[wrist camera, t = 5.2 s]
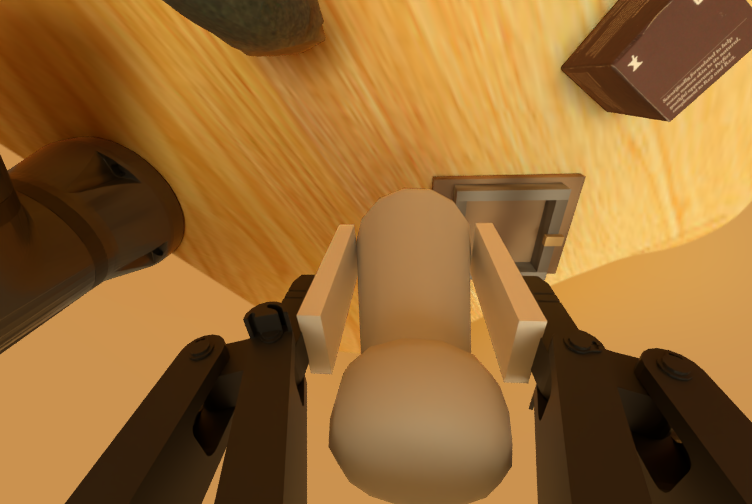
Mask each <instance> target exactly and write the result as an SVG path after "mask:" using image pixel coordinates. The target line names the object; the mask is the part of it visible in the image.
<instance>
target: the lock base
mask: <svg viewBox="0 0 752 504" xmlns="http://www.w3.org/2000/svg"><path fill="white" fill-rule="evenodd" d="M584 180H585V176H584V175H582V174H540V175H493V176H446V177H433V188H432V190H433V191H435V192H437V193H439V194H441V195H443V196H445V197H446V198H448V199H450V200H452V201H453V202H454V203H455V204H456V206H457V207H458V209H459V210H460V212H461V213H462V214H463V216H464V217H465V219H466V220H467V222H468V223H469V226H470V241H471V257H472V249H473V241H474V233H475V225H476V223H493V225H494V227H495V229H496V231H497V232H498V234H499V236H500V238H501V239H502V241H503V243H504V245H505V247H506V248H507V250H508V252H509V254H510V256H511V257H512V259H513V261H514V263H515V265H516V266H517V268H518V270H519V272H520V274H521V275H522V276H538V277H540V278H541V279H542V280H545V278H546V274H547V273H550V274H555V273H556V270H557V267H558V263H559V260H560V257H561V254H562V251H563V247H564V244H565V241H566V238H567V235H568V231H569V228H570V225H571V222H572V219H573V215H574V212H575V209H576V206H577V203H578V199H579V196H580V193H581V190H582V187H583V183H584ZM470 265H471V262H470ZM470 279H472V276H471V273H470Z"/></svg>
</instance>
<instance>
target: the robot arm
mask: <svg viewBox="0 0 752 504" xmlns="http://www.w3.org/2000/svg"><path fill="white" fill-rule="evenodd" d="M183 233H184V220H183V215H182V211H181V208H180V205H179V203H178V201H177V198H176V197H175V195H174V193H173V191H172V190H171V188H170V187H169V185H168V184H167V183H166V181H165V180H164V179H163V178H162V176H161V175H160V174H159V173H158V172H157V171H156V170H155V169H154V168H153V167H152V166H151V165H150V164H149V163H147V162H146V161H145V160H144V159H142V158H141V157H140V156H138V155H137V154H135V153H134V152H132V151H130V150H129V149H127V148H125V147H123V146H121V145H119V144H117V143H114V142H111V141H108V140H105V139H101V138H96V137H77V138H71V139H66V140H61V141H56V142H53V143H50V144H48V145H46V146H44V147H42V148H41V149H39V150H38V151H36V152H35V153H33V154H32V155H30V156H29V157H27V158H26V159H24V160H23V161H21V162H20V163H18V164H17V165H15V166H14V167H12V168H11V169H9V170H8V171H7V169H6V167H5V164H4V162H3V160H2V157H1V155H0V354H1V353H3V352H4V351H5V350H7V349H8V348H10V347H11V346H12V345H14V344H15V343H17V342H18V341H20V340H21V339H22V338H24V337H25V336H27V335H28V334H29V333H31V332H32V331H34V330H35V329H36V328H38V327H39V326H40V325H42V324H43V323H45V322H46V321H48V320H49V319H50V318H52V317H53V316H55V315H56V314H58V313H59V312H60V311H62V310H63V309H65V308H66V307H67V306H69V305H70V304H71V303H73V302H74V301H76V300H77V299H79V298H80V297H81V296H83V295H84V294H86V293H87V292H88V291H90V290H91V289H93V288H94V287H96V286H97V285H99V284H100V283H102V282H103V281H106V280H109V279H112V278H115V277H118V276H122V275H125V274H128V273H131V272H134V271H138V270H141V269H144V268H147V267H150V266H153V265H155V264H157V263H159V262H160V261H162V260H163V259H164V258H165V257H167V256H168V255H169V254H171V253H172V252H174V251H175V250H176V249H177V247H178V246H179V244H180V242H181V240H182V237H183ZM470 273H471V276H472V280H473V283H474V286H475V289H476V293H477V296H478V299H479V302H480V306H481V309H482V312H483V315H484V319H485V322H486V325H487V328H488V331H489V335H490V338H491V341H492V345H493V348H494V351H495V354H496V358H497V361H498V364H499V368H500V371H501V374H502V377H503V381H504V382H511V383H528V381H529V378H530V375H531V372H532V374H533V376H534V379H535V381H536V383H537V384H536V387H535V390H534V393H533V397H532V399H531V402H530V406H529V409H531V410H533V407H534V411H535V412H534V414H535V440H536V466H537V491H538V504H752V422H751V421H750V420H749V419H748V418H747V417H746V416H745V415H744V414H743V412H742V411H741V410H740V409H739V408H738V407H737V406H736V405H735V404H734V403H733V402H732V401H731V400H730V399H729V397H728V396H727V395H726V394H725V393H724V392H723V391H722V390H721V389H720V388H719V387H718V386H717V384H716V383H715V382H714V381H713V380H712V379H711V378H710V377H709V376H708V375H707V374H706V372H705V371H704V370H703V369H701V368H700V367H699V366H698V365H696V364H695V363H694V362H693V361H691V360H689V359H687V358H686V357H684V356H682V355H680V354H677V353H675V352H672V351H669V350H664V349H659V348H655V349H648V350H646V351H644V352H643V353H642V354H641V356H640V358H636V357H632V356H628V355H624V354H619V353H615V352H612V351H609V350H606V349H605V348H604V346H603V344H602V343H601V342H600V341H598V340H597V339H596V338H595V337H593V336H592V335H590V334H588V333H587V332H584V331H581V330H579V329H578V328H577V326H576V325H575V323H574V322H573V320H572V319H571V317H570V316H569V314H568V313H567V311H566V310H565V308H564V307H563V305H562V304H561V303H560V301H559V299H558V298H557V296H556V295H555V293H554V292H553V290H552V289H551V287H550V286H549V284H548V283H546V282H545V281H544V280H542V279H541V278H540V277H538V276H522V275H521V274H520V272H519V270H518V268H517V266H516V265H515V263H514V261H513V259H512V257H511V256H510V254H509V252H508V250H507V248H506V247H505V245H504V243H503V241H502V239H501V238H500V236H499V234H498V232H497V231H496V229H495V227H494V225H493V223H476V225H475V233H474V241H473V249H472V257H471V265H470ZM357 276H358V271H357V249H356V237H355V228H354V224H349V225H339V226H338V228H337V230H336V232H335V235H334V237H333V239H332V241H331V243H330V245H329V247H328V250H327V252H326V254H325V256H324V258H323V260H322V262H321V264H320V267H319V269H318V271H317V273H316V275H301V276H300V277H299V278H297V279H296V280H295V281H294V282H293V283H292V285H291V287H290V288H289V291H288V292H287V294H286V295H285V299H283V301H282V303H279V302H266V303H262V304H259V305H257V306H255V307H254V308H252V309H251V310H250V311H249V312H247V313H246V315H245V317H244V319H243V320H244V323H245V326H246V328H247V331H248V333H249V336H250V339H246V340H243V341H238V342H234V343H229V344H226V343H225V341H224V339H223V338H222V337H220V336H218V335H207V336H203V337H200V338H198V339H195V340H194V341H192V342H191V343H189V344H187V346H185V347H184V348H183V349H182V351H181V352H180V353H179V354H178V356H177V357H176V358H175V360H174V361H173V362H172V364H171V365H170V366H169V367H168V369H167V370H166V371H165V373H164V374H163V375H162V377H161V378H160V379H159V381H158V382H157V383H156V385H155V386H154V387H153V388H152V390H151V391H150V392H149V394H148V395H147V396H146V398H145V399H144V400H143V402H142V403H141V404H140V406H139V407H138V408H137V409H136V411H135V412H134V414H133V415H132V416H131V417H130V419H129V420H128V421H127V423H126V424H125V425H124V427H123V428H122V429H121V431H120V432H119V433H118V434H117V436H116V437H115V439H114V440H113V441H112V442H111V444H110V445H109V446H108V448H107V449H106V450H105V452H104V453H103V454H102V455H101V457H100V458H99V459H98V461H97V462H96V464H95V465H94V466H93V467H92V469H91V470H90V471H89V473H88V474H87V475H86V476H85V478H84V479H83V480H82V482H81V483H80V484H79V486H78V487H77V488H76V490H75V491H74V492H73V494H72V495H71V496H70V498H69V499H68V500H67V502H66V503H65V504H202V501H203V499H204V497H205V494H206V492H207V490H208V488H209V485H210V483H211V481H212V479H213V477H214V474H215V472H216V469H217V467H218V465H219V463H220V461H221V458H222V456H223V454H224V452H225V449H226V453H225V457H224V462H223V466H222V471H221V475H220V480H219V484H218V489H217V494H216V499H215V503H214V504H307V382H306V378H305V372H306V369H307V366H308V364H309V366H310V370H311V373H319V374H332V372H333V368H334V364H335V360H336V357H337V353H338V349H339V345H340V341H341V337H342V334H343V330H344V326H345V322H346V318H347V314H348V310H349V306H350V303H351V299H352V295H353V291H354V287H355V283H356V279H357ZM226 447H227V448H226Z"/></svg>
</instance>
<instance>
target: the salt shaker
mask: <svg viewBox="0 0 752 504" xmlns="http://www.w3.org/2000/svg"><path fill="white" fill-rule="evenodd" d="M356 249H357V271H358V294H359V317H360V339H361V355H360V356H359V357H357V358H356V359H355V360H354V361H353V362H351V363H350V364H349V366H348V367H347V369H346V370H345V372H344V373H343V376H342V380H341V383H340V386H339V390H338V394H337V397H336V400H335V404H334V407H333V411H332V414H331V418H330V431H329V448H330V450H331V452H332V454H333V455H334V457H335V459H336V461H337V462H338V464H339V466H340V468H341V469H342V470H343V472H344V474H345V476H346V477H347V479H348V480H349V482H350V483H352V484H353V485H355V486H356V487H358V488H359V489H361V490H362V491H364V492H365V493H367V494H368V495H369V496H372V497H375V498H378V499H381V500H384V501H388V502H391V503H394V504H468V503H471V502H474V501H477V500H480V499H483V498H486V497H487V496H488V495H489V494H490V493H491V492H492V491H493V490H494V489H495V488H496V487H497V486H498V485H499V484H500V483H501V482H502V480H503V478H504V477H505V476H506V474H507V473H508V471H509V469H510V468H511V467H512V436H511V426H510V417H509V411H508V408H507V405H506V403H505V400H504V397H503V394H502V391H501V388H500V386H499V385H498V383H497V382H496V380H495V379H494V378H493V376H492V375H491V374H490V373H489V371H488V370H487V369H486V368H485V367H484V366H483V365H482V364H481V362H480V361H479V360H478V359H477V358H476V357H475V356H474V355H473V354H471V320H470V262H471V241H470V226H469V223H468V222H467V220H466V219H465V217H464V216H463V214H462V213H461V212H460V210H459V209H458V207H457V206H456V204H455V203H454V202H453V201H452V200H450V199H448V198H446V197H445V196H443V195H441V194H439V193H437V192H435V191H433V190H431V189H418V188H402V189H400V190H398V191H395V192H393V193H390V194H388V195H386V196H383V197H381V198H379V199H378V200H377V202H376V203H375V204H374V205H373V206H372V207H371V209H370V210H369V211H368V212H367V213H366V214H365V216H364V217H363V218H362V220H361V224H360V228H359V232H358V236H357V241H356Z"/></svg>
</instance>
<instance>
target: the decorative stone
mask: <svg viewBox="0 0 752 504" xmlns="http://www.w3.org/2000/svg"><path fill="white" fill-rule="evenodd" d="M163 1H164V2H165V3H167V4H168V5H169V6H171V7H172V8H174V9H175V10H176V11H178V12H179V13H180V14H182V15H183V16H184V17H186V18H188V19H189V20H191V21H192V22H194V23H195V24H197V25H199V26H201V27H202V28H204V29H206V30H208V31H209V32H211V33H213V34H214V35H216V36H217V37H219V38H220V39H222V40H223V41H224V42H226V43H227V44H229V45H230V46H232V47H234V48H236V49H239V50H241V51H242V52H243V53H245V54H246V55H249V56H281V55H291V54H297V53H303V52H305V51H306V50H308V49H310V48H312V47H313V46H315V45H317V44H319V43H321V42H323V41H324V40H325V34H324V30H323V26H322V24H323V18H322V14H321V11H320V8H319V4H318V1H317V0H163Z"/></svg>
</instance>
